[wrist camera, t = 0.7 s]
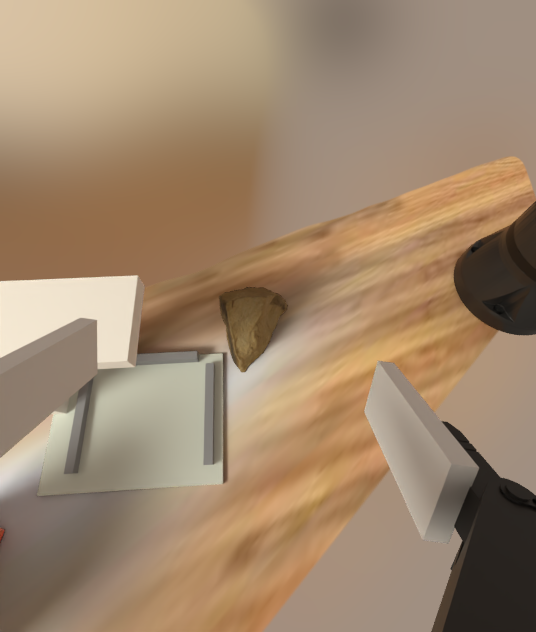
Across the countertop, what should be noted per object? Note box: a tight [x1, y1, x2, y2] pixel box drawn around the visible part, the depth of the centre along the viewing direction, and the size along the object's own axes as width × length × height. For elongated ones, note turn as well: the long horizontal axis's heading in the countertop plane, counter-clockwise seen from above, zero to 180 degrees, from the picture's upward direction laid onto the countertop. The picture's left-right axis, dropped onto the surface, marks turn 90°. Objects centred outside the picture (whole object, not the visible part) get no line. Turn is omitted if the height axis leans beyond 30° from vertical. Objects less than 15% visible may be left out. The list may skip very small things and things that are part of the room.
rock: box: [219, 287, 288, 372], centre depth 41 cm, size 11×9×10 cm
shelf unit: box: [0, 276, 223, 496], centre depth 30 cm, size 21×15×20 cm
